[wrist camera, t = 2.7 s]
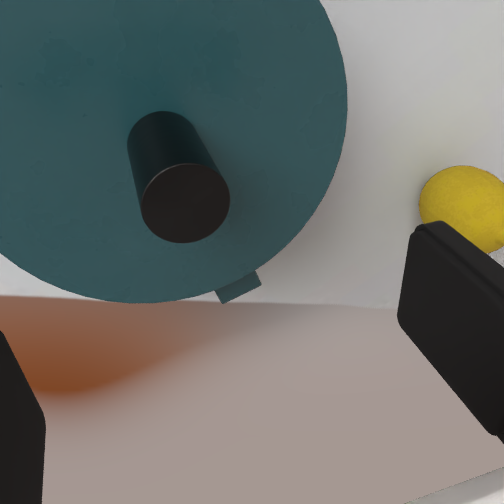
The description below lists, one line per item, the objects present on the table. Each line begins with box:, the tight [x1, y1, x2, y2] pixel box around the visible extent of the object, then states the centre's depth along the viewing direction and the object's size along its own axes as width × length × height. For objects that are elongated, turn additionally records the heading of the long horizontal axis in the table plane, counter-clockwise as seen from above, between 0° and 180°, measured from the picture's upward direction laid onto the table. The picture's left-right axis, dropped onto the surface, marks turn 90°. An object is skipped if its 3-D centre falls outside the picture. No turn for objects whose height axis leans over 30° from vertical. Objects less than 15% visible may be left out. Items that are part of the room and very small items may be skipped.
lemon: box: [419, 166, 504, 254], centre depth 32 cm, size 6×6×8 cm
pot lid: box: [0, 0, 348, 303], centre depth 17 cm, size 16×16×6 cm
